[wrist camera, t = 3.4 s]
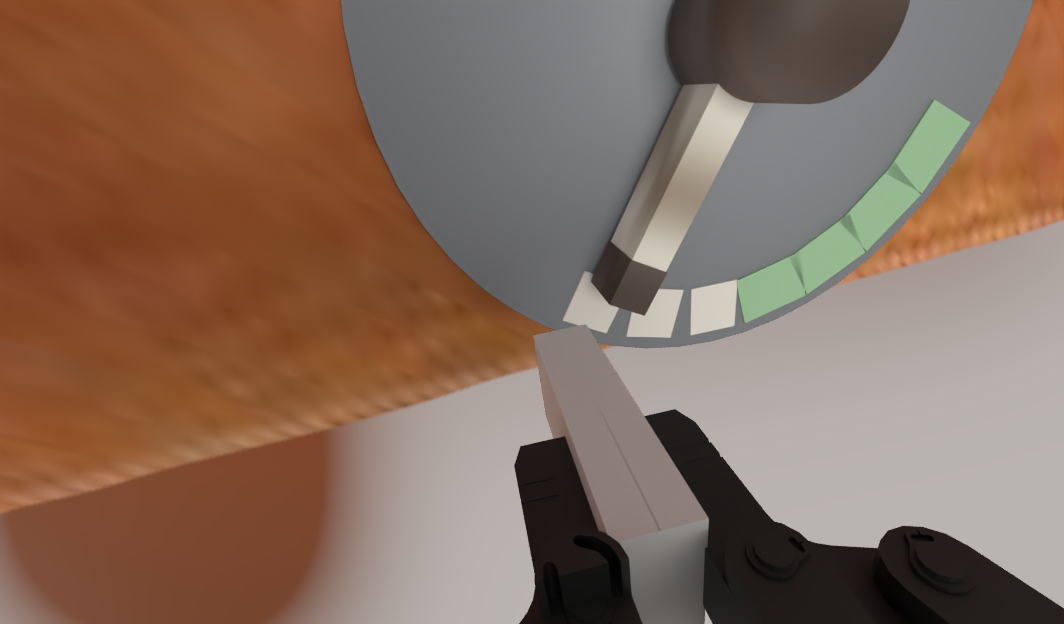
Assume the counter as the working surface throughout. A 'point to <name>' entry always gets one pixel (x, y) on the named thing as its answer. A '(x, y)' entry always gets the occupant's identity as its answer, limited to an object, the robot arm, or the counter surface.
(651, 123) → the dial
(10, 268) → the counter surface
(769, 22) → the needle
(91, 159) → the counter surface
